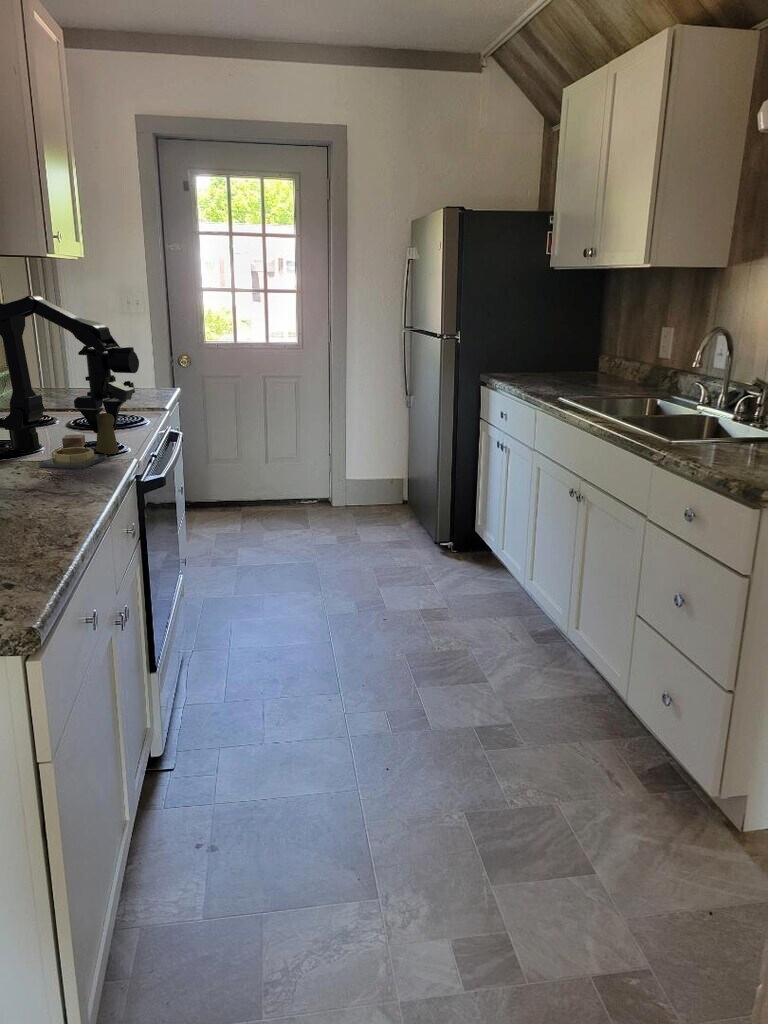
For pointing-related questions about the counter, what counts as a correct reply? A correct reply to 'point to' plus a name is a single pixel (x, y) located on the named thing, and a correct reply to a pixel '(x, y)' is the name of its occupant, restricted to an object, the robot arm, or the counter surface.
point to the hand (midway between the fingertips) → (105, 429)
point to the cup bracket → (73, 458)
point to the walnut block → (73, 441)
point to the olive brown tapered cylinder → (106, 435)
